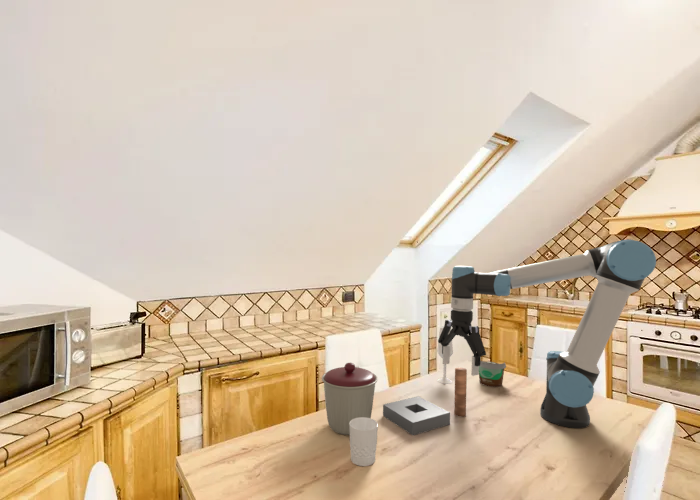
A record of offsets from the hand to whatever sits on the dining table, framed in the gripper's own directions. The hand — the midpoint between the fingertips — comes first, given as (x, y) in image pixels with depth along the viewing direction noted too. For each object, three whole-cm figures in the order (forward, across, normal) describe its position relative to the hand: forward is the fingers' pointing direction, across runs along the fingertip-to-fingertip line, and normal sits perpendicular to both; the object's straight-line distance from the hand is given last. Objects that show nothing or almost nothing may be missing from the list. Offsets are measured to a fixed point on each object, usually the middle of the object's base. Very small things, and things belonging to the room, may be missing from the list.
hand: (459, 369), depth 136 cm
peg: (+16, 0, 0) cm, 16 cm away
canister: (+17, -10, -40) cm, 44 cm away
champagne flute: (+16, -28, +20) cm, 38 cm away
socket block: (+16, -4, -17) cm, 23 cm away
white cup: (+16, +8, -46) cm, 49 cm away
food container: (+16, -14, +34) cm, 41 cm away
